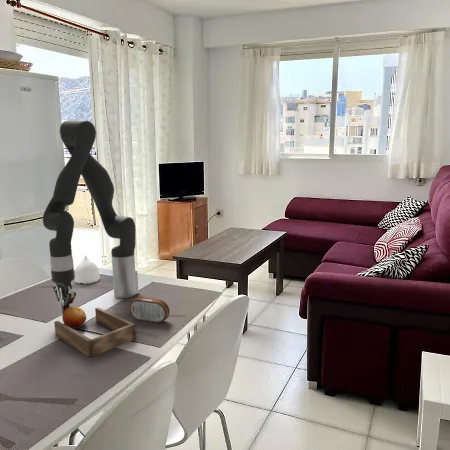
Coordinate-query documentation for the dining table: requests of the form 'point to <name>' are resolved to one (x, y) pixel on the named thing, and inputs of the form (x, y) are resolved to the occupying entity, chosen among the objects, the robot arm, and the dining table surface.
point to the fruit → (74, 317)
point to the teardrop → (86, 271)
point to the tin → (149, 309)
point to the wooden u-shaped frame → (95, 346)
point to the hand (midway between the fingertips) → (66, 313)
